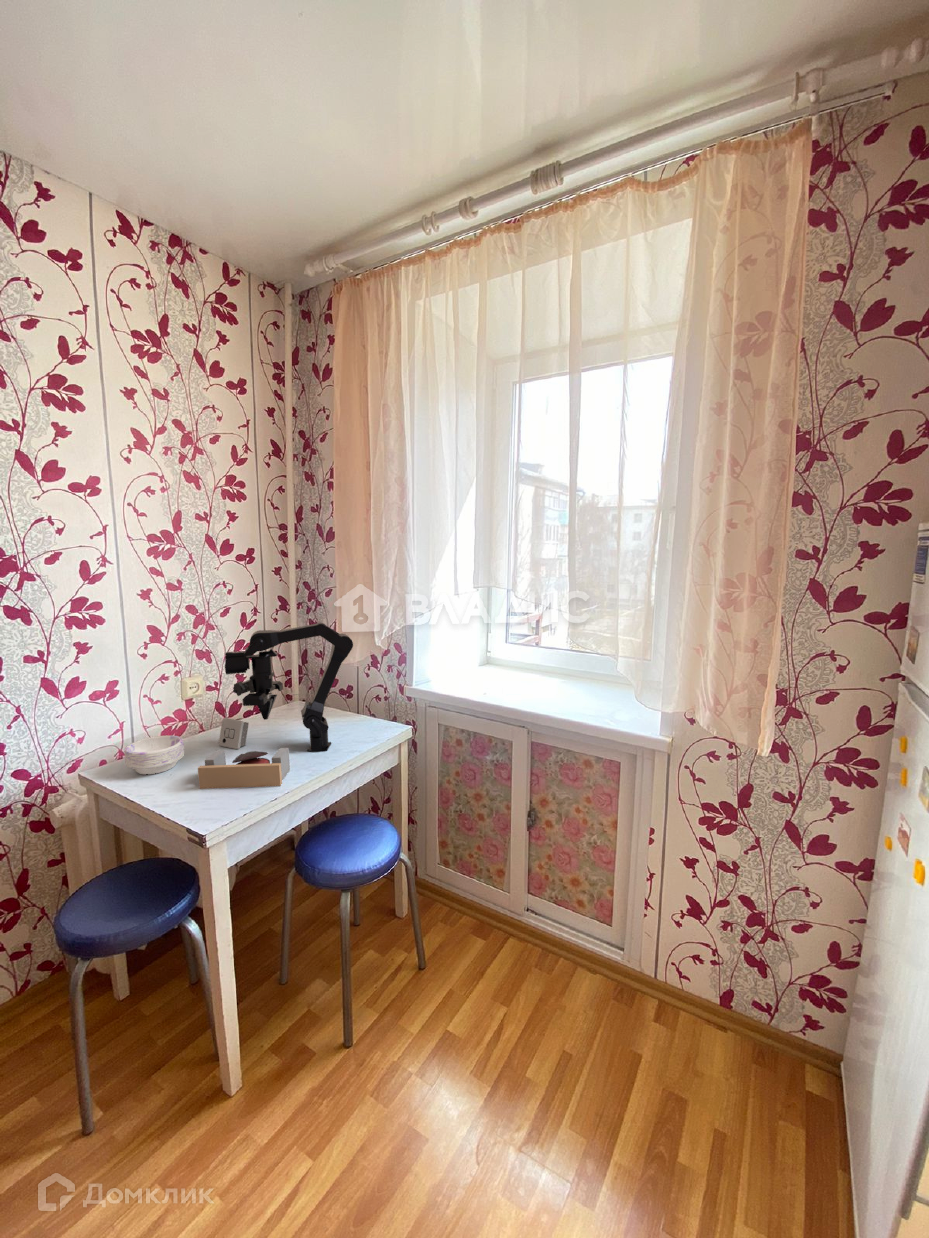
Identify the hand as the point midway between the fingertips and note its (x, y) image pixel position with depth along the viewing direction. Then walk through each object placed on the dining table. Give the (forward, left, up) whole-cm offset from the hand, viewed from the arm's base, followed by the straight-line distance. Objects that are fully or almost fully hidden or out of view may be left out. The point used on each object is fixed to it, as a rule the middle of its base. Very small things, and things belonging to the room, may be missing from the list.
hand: (265, 719), depth 156 cm
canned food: (+13, 0, -12) cm, 18 cm away
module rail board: (+16, 0, -12) cm, 20 cm away
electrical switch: (-10, -15, -12) cm, 22 cm away
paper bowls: (+7, -31, -12) cm, 34 cm away
